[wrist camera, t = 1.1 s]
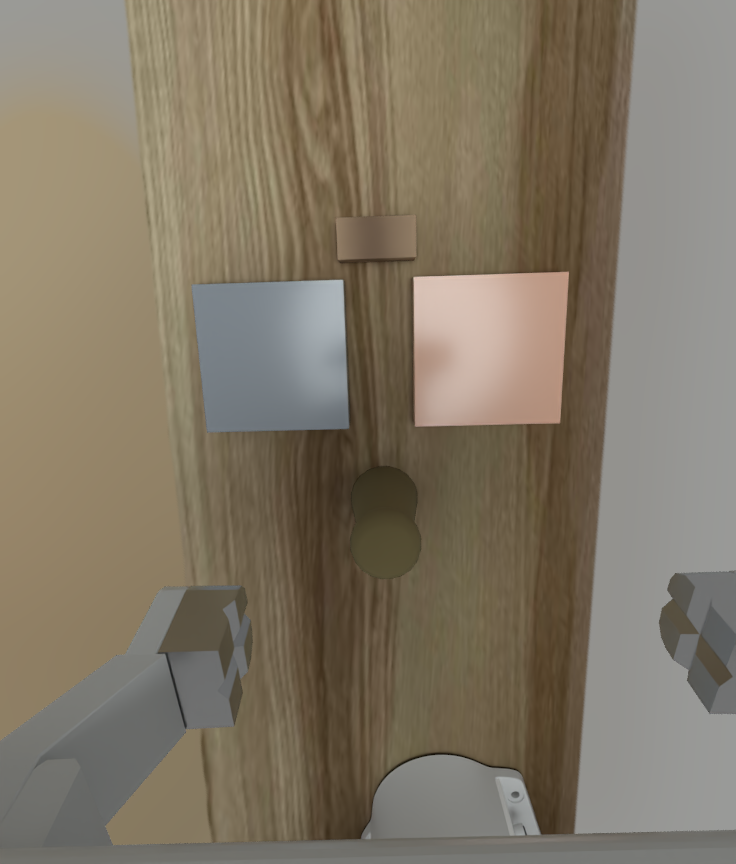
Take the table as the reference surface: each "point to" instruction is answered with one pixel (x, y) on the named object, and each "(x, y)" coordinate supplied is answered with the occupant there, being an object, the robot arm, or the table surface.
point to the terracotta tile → (488, 348)
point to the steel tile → (273, 355)
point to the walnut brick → (376, 238)
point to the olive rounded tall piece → (385, 523)
